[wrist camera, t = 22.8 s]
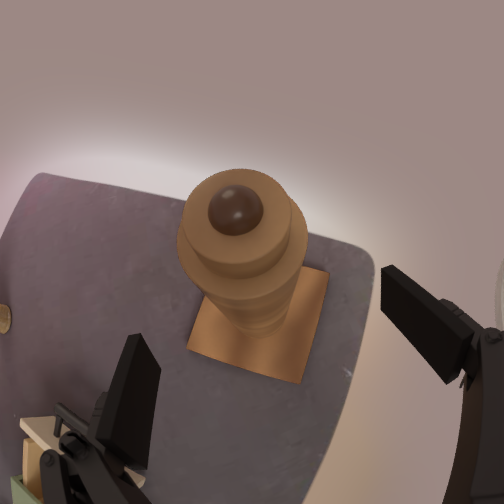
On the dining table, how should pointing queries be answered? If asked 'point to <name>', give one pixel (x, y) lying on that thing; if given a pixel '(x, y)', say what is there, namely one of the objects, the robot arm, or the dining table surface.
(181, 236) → the pepper mill
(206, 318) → the square wooden board
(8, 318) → the spice jar
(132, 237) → the dining table surface
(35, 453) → the drawer
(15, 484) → the cabinet
